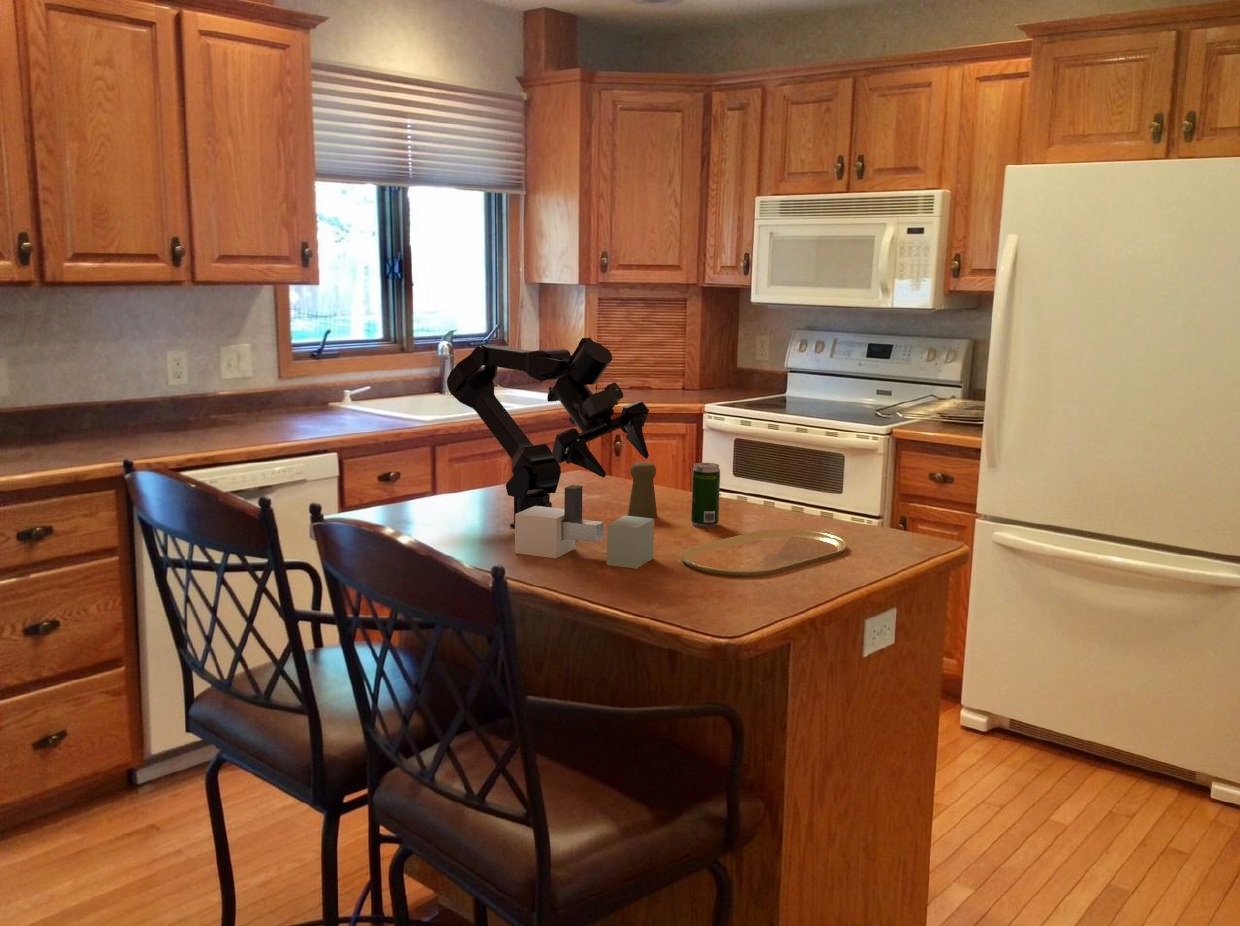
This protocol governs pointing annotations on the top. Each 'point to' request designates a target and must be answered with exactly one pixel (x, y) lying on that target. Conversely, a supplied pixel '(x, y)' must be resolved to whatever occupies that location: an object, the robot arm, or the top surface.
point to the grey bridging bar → (578, 519)
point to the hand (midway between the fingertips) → (626, 466)
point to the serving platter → (757, 535)
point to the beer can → (705, 495)
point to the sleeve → (541, 532)
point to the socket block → (630, 541)
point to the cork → (643, 491)
